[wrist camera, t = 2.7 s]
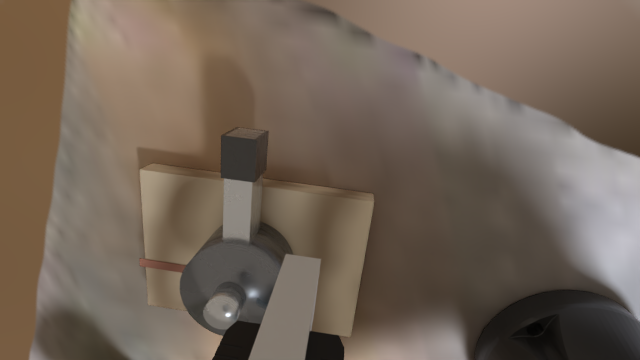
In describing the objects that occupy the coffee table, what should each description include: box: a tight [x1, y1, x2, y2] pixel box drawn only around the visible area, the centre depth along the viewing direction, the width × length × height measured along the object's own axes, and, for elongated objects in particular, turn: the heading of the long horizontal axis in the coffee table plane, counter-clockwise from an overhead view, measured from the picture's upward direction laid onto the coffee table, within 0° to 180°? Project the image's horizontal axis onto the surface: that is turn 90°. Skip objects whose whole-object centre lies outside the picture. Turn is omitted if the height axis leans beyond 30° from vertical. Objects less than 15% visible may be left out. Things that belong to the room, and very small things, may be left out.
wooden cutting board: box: [139, 163, 374, 337], centre depth 32 cm, size 20×14×2 cm
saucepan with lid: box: [180, 127, 293, 336], centre depth 26 cm, size 16×8×7 cm, turn 174°
